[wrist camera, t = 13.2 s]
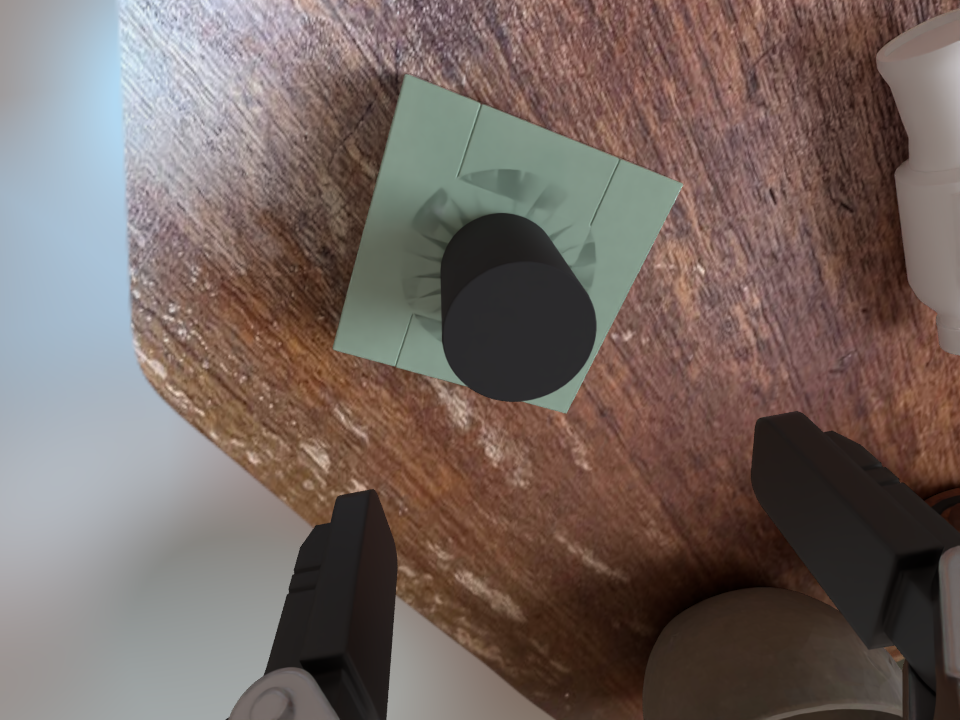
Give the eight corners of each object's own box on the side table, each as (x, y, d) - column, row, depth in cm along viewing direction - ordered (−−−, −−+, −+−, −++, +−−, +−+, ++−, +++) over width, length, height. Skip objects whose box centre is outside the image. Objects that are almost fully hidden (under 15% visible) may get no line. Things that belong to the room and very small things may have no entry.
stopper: (426, 286, 27) (421, 380, 18) (460, 183, 24) (472, 239, 16) (523, 316, 28) (559, 417, 20) (564, 220, 26) (624, 290, 17)
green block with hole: (341, 323, 27) (331, 350, 25) (408, 72, 22) (404, 72, 20) (555, 384, 30) (566, 414, 28) (658, 172, 25) (684, 184, 22)
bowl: (691, 721, 48) (748, 867, 39) (571, 634, 41) (608, 789, 32) (874, 627, 43) (986, 770, 34) (773, 511, 36) (882, 653, 27)
